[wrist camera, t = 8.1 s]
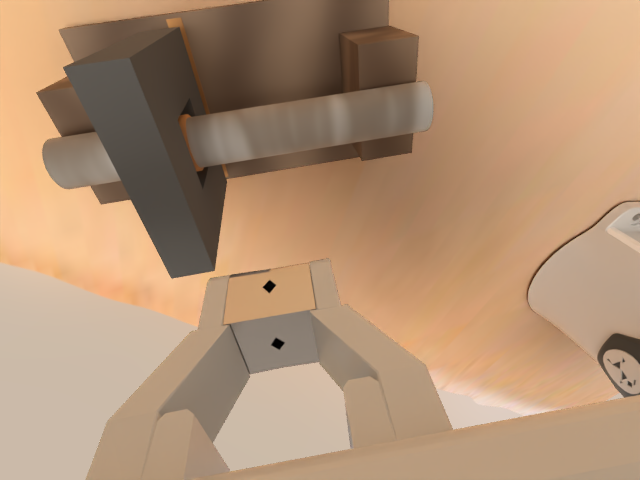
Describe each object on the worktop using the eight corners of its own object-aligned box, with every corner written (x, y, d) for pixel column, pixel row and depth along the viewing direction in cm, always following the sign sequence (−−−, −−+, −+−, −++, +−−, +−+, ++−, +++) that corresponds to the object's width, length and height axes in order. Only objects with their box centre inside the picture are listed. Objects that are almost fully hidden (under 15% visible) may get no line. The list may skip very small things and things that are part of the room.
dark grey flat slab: (179, 26, 18) (129, 58, 11) (226, 181, 23) (214, 270, 16) (140, 32, 18) (62, 67, 11) (197, 186, 23) (171, 278, 16)
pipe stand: (383, -17, 20) (446, -15, 13) (382, 147, 26) (425, 203, 20) (66, 27, 19) (-33, 53, 12) (142, 186, 25) (102, 260, 19)
